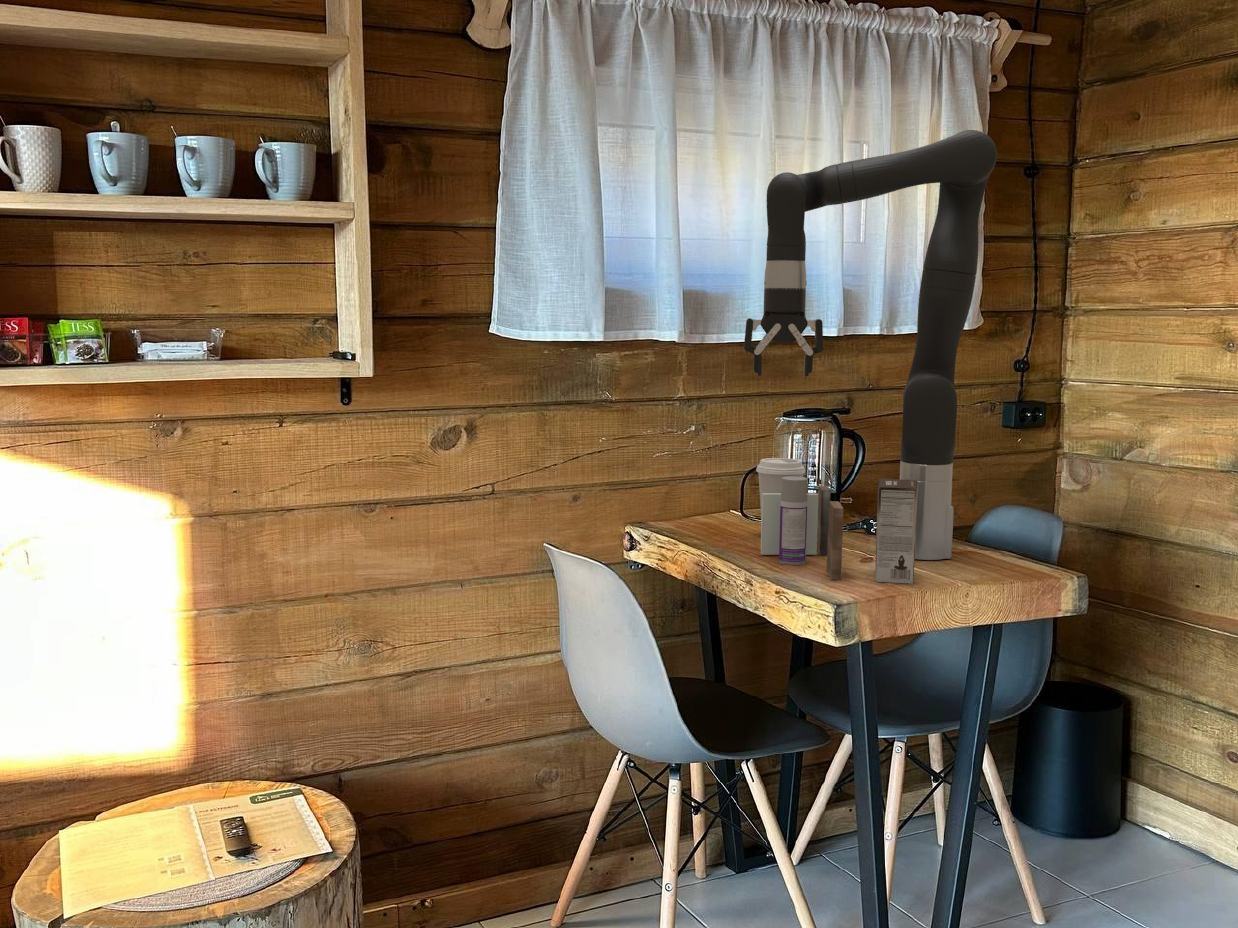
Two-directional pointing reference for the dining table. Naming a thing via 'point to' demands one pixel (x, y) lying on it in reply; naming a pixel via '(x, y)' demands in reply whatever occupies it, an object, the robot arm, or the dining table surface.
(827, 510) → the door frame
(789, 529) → the container
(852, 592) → the dining table surface
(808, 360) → the robot arm
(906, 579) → the coffee box
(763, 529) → the door leaf
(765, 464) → the coffee cup
